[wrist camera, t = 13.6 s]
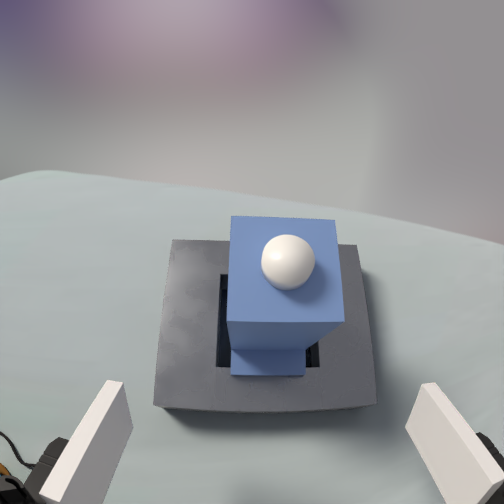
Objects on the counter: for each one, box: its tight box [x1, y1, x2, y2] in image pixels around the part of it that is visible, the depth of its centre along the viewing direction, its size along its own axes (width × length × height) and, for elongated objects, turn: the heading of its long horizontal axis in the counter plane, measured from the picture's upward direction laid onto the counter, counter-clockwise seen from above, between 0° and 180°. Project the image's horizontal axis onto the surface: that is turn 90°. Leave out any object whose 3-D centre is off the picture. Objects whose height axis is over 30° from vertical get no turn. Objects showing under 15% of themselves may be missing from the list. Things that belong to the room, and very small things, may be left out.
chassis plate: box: [153, 240, 377, 413], centre depth 21 cm, size 14×12×3 cm
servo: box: [227, 216, 345, 376], centre depth 17 cm, size 4×8×12 cm, turn 0°
